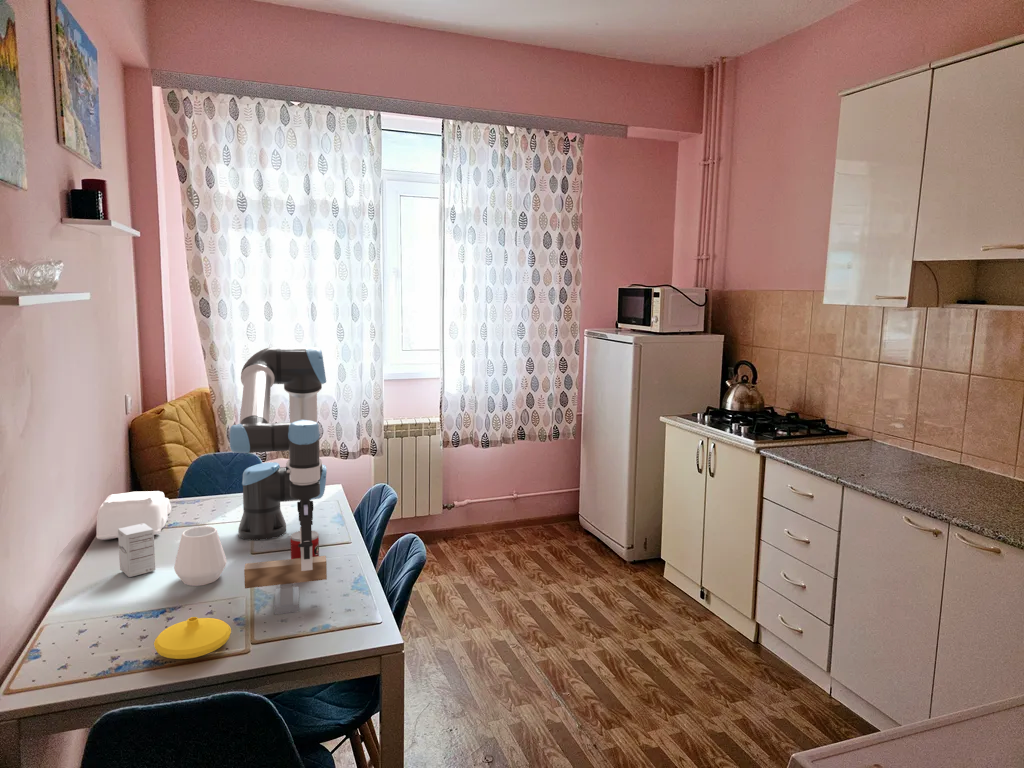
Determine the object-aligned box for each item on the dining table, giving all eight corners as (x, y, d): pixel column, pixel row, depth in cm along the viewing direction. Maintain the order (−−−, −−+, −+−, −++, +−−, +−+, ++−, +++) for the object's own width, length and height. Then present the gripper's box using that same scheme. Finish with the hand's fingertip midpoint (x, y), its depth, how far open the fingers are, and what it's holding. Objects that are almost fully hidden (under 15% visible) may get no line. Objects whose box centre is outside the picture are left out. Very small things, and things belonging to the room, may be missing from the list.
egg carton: (93, 544, 211) (91, 504, 209) (113, 515, 238) (111, 479, 237) (161, 538, 217) (159, 499, 216) (172, 510, 245) (171, 475, 244)
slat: (244, 588, 167) (244, 569, 167) (245, 582, 171) (245, 563, 170) (326, 579, 174) (326, 561, 173) (325, 573, 177) (325, 555, 177)
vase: (178, 630, 158) (177, 602, 157) (243, 632, 157) (242, 604, 157) (138, 666, 142) (137, 635, 141) (210, 669, 142) (209, 638, 141)
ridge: (275, 594, 178) (274, 572, 177) (298, 591, 180) (298, 570, 179) (274, 614, 167) (273, 591, 166) (299, 611, 168) (299, 588, 168)
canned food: (311, 577, 189) (310, 540, 188) (285, 574, 190) (285, 537, 189) (324, 567, 196) (323, 531, 195) (299, 564, 198) (298, 529, 197)
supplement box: (119, 570, 191) (116, 528, 189) (147, 563, 196) (145, 522, 195) (128, 578, 186) (125, 534, 184) (156, 570, 191) (154, 528, 190)
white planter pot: (163, 584, 183) (161, 535, 181) (201, 566, 195) (199, 520, 193) (201, 592, 178) (199, 542, 176) (237, 573, 190) (236, 527, 189)
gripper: (289, 469, 181) (291, 543, 184) (289, 496, 158) (291, 580, 161) (318, 467, 184) (319, 540, 187) (322, 494, 160) (323, 577, 163)
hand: (306, 559), depth 174 cm, fingers open, 13 cm apart
